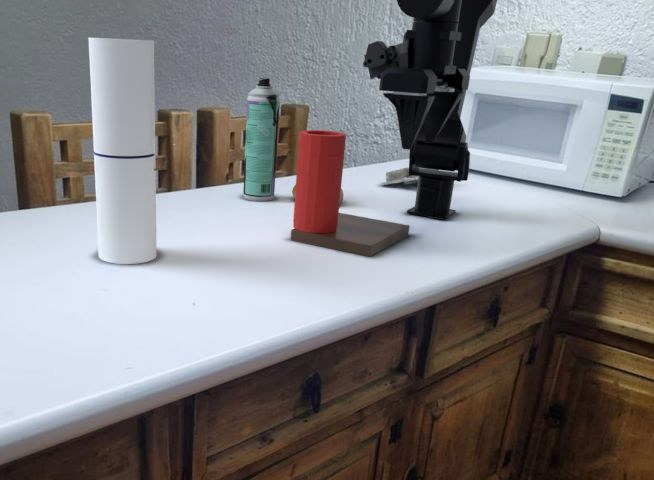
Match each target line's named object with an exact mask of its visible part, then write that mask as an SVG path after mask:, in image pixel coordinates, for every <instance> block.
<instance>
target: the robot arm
mask: <svg viewBox="0 0 654 480" xmlns="http://www.w3.org/2000/svg"><path fill="white" fill-rule="evenodd" d="M396 3H397V6H398V8H399V9H400V11H401V12H402V13H403V14H404V15H406V16H408V17H410V18H413V19H412V27H411V29H406V32H404V34H403V38H402V39H403V40H402V42H401V43H397V44H393V45H389V46H388V45H386V43H385V42H384V41H382V40H376V41H373V42H371V43H368V44H367V47H366V52H365V54H364V55H363V58H364V60H363V62H362V66H363V67H364V68H367V69H368V74H369V79H370V80H374V79H375V78H377V79H378V80H379V88H378V90H379V91H383V93H382V95H383V97H384V98H385V99H388V101H389V102H390V103H391V104H392V106H394V108H395V111H396V117H397V123H398V129H399V130H398V131H399V136H400V143H401V148H402V149H403V150H409V159H408V167H409V176H419V180H418V185H417V188H416V193H415V194H416V195H415V202H414V206H413V207H411V208H408V209H407V210H406V213H407V214H410V215H416V216H421V217H427V218H433V219H438V220H446V219H448V218H450V217H452V216H453V215H455V214H456V213H457V210H456V209H452V208H451V204H452V198H453V192H454V186H455V182H458V183H461V182H466V181H468V180H469V173H470V167H471V166H470V163H471V152H470V150H469V145H468V144H469V143H468V142H466V141H467V134H466V131H465V128H464V125H463V123H462V119H461V116H462V111H463V107H464V103H465V100H466V99H465V98H466V94H467V91H468V90H469V85H470V78H471V71H472V66H473V63H474V59H475V58H474V57H475V54H476V50H477V48H476V47H477V44H478V40H479V36H480V30H481V28H482V27H483V26H484V25H485V24H486V22H488V21H489V19H491V17H492V16H493V15H494V14H495V11H496V8H497V5H498V4H497V3H498V0H396ZM422 168H427V169H422ZM431 169H436V170H431Z"/></svg>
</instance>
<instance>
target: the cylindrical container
mask: <svg viewBox="0 0 654 480" xmlns="http://www.w3.org/2000/svg"><path fill="white" fill-rule="evenodd" d="M87 40H88V57H89V58H88V59H89V76H90V79H89V80H90V94H91V95H90V98H91V99H90V100H91V101H90V102H91V120H92V142H93V143H92V144H93V163H94V164H93V165H94V166H93V167H94V184H95V204H96V205H95V206H96V227H97V228H96V229H97V249H98V250H97V251H98V258H99V259H100V260H102V261H104V262H107V263H111V264H117V265H136V264H143V263H147V262H151V261H153V260H155V259H156V257H157V179H156V177H157V174H156V171H157V170H156V168H157V167H156V166H157V165H156V164H157V163H156V95H155V94H156V93H155V92H156V89H155V87H156V86H155V40H154V39H131V38H108V37H106V38H104V37H88V39H87Z"/></svg>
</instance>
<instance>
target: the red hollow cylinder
mask: <svg viewBox="0 0 654 480" xmlns="http://www.w3.org/2000/svg"><path fill="white" fill-rule="evenodd" d="M346 140H347V134H346V133H345V132H340V131H333V130H324V129H323V130H319V129H308V130H307V129H305V130H300V131H299V138H298V151H297V162H296V164H297V165H296V179H295V185H296V191H295V198H294V206H293V208H294V209H293V221H292V222H293V223H292V225H293V229H294V228H295V229H297V230H299V231H302V232H307V233H320V234H321V233H331V232H334V231H336V230H337V224H338V214H339V213H340V204H341V203H340V193H341V189H342V183H343V181H342V180H343V170H344V160H345V151H346Z"/></svg>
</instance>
